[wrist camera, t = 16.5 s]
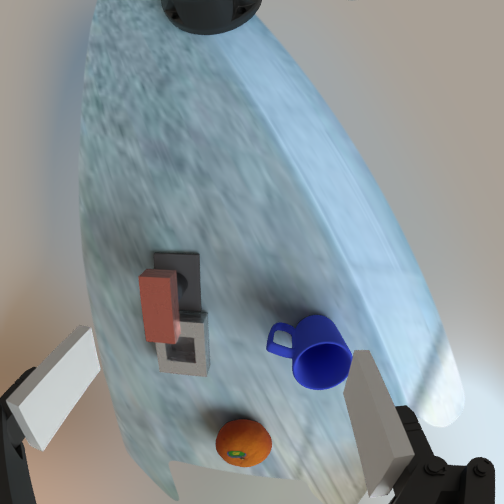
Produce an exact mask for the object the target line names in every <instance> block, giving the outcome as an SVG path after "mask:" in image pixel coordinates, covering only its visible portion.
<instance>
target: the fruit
mask: <svg viewBox="0 0 504 504" xmlns="http://www.w3.org/2000/svg"><path fill="white" fill-rule="evenodd" d="M271 448H272V440H271V437H270V435H269V433H268V432H267V431H266V429H265V428H264V427H263V426H262V425H261V424H260V423H258V422H256V421H252V420H246V419H239V420H234V421H230V422H228V423H226V424H225V425H224V426H223V427H222V428H221V429H220V431H219V433H218V435H217V438H216V450H217V452H218V454H219V455H220V456H221V457H222V458H223V459H224V460H225V461H226V462H227V463H229V464H232V465H235V466H240V467H251V466H254V465H257V464H259V463H261V462H262V461H263V460H265V459H266V458H267V456H268V455H269V453H270V451H271Z"/></svg>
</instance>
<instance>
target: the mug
mask: <svg viewBox="0 0 504 504" xmlns="http://www.w3.org/2000/svg"><path fill="white" fill-rule="evenodd" d="M277 330H281V331H285V332H287V333H289V334H291V336H292V348H288V347H285V346H282V345H279V344H276V343H274V342H273V337H274V332H275V331H277ZM266 349H267V351H268V352H271V353H273V354H276V355H279V356H282V357H286V358H291V359H292V371H293V375H294V377H295V379H296V380H297V382H298V383H300V384H301V385H302V386H304V387H306V388H309V389H313V390H324V389H329V388H332V387H334V386H336V385H338V384H340V383H341V382H342V381H344V380H345V379H346V378H347V376H348V374H349V370H350V366H351V362H352V358H353V357H352V354H351V352H350V350H349V348H348V346H347V345H346V343H345V341H344V339H343V338H342V336H341V334H340V332H339V331H338V329H337V327H336V326H335V324H334V323H333V322H332V321H331V320H330V319H329V318H327V317H325V316H322V315H312V316H308V317H306V318H304V319H303V320H301V321H300V322H299V323H298V325H297V326H296V328H294V327H293V326H291V325H289V324H286V323H282V322H279V323H276V324H274V325H273V327H272V328H271V330H270V333H269V336H268V340H267V346H266Z"/></svg>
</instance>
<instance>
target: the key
mask: <svg viewBox="0 0 504 504" xmlns="http://www.w3.org/2000/svg"><path fill="white" fill-rule="evenodd" d="M139 287H140V296H141V305H142V313H143V321H144V328H145V335H146V341H148V342H157V343H167V344H176V342H177V340H178V338H179V336H180V334H181V330H180V318H179V305H178V303H179V301H180V299H181V298H182V296H183V295H184V293H185V291H186V290H187V287H188V281H187V279H186V278H185V276H183V275H182V274H180V273H176V270H161V269H146V270H145V271H144V272H143V273H142V274H141V275H140V276H139Z"/></svg>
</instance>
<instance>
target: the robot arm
mask: <svg viewBox="0 0 504 504" xmlns="http://www.w3.org/2000/svg"><path fill="white" fill-rule="evenodd" d="M161 2H162V7H163V10H164V12H165V14H166V15H167V17H168V18H169V19H170V21H171V22H172V23H173V24H174V25H175V26H176V27H178V28H179V29H181V30H183V31H186V32H188V33H192V34H198V35H213V34H220V33H224V32H227V31H230V30H233V29H235V28H237V27H239V26H241V25H243V24H244V23H245V22H247V21H248V20H249V19H250V18H252V16H253V15H254V14H255V13H256V11H257V10H258V9H259V7H260V5H261V2H262V0H161ZM99 371H100V365H99V361H98V357H97V353H96V348H95V344H94V339H93V334H92V329H91V327H87V326H82V325H79V326H78V327H77V328H76V329H75V330H74V331H73V332H72V333H71V334H70V335H69V336H68V337H67V338H66V339H65V340H64V341H63V342H62V343H61V344H59V346H57V348H55V350H53V351H52V353H51V354H50V355H49V356H48V357H47V358H46V359H45V360H44V361H43V362H42V363H41V364H40V365H39V366H38V367H37V368H36V367H32V368H31V369H29V370H27V371H25V372H24V373H23V374H22V375H21V376H20V378H19V379H17V380H16V381H15V384H13V385H12V386H11V387H10V388H9V389H8V390H7V391H6V392H5V393H4V394H3V395H2V396H1V398H0V504H36V500H35V496H34V493H33V488H32V484H31V480H30V475H29V470H28V465H27V460H26V454H25V448H24V445H23V443H22V441H23V439H24V438H26V440H27V441H28V443H29V444H30V446H32V447H34V448H36V449H38V450H40V451H44V449H45V448H46V446H47V445H48V443H49V442H50V440H51V439H52V437H53V436H54V434H55V433H56V431H57V430H58V429H59V427H60V426H61V424H62V423H63V421H64V420H65V418H66V417H67V415H68V414H69V413H70V411H71V410H72V408H73V407H74V406H75V404H76V403H77V401H78V400H79V399H80V397H81V396H82V394H83V393H84V392H85V390H86V389H87V387H88V386H89V385H90V383H91V382H92V380H93V379H94V378H95V376H96V375H97V373H98V372H99ZM343 394H344V398H345V402H346V405H347V409H348V413H349V417H350V420H351V424H352V428H353V432H354V436H355V440H356V444H357V448H358V452H359V456H360V460H361V464H362V468H363V473H364V477H365V481H366V486H367V490H368V494H369V498H372V497H378V496H384V495H388V493H389V492H390V491H391V490H392V488H393V489H394V493H395V496H394V497H393V499H392V500H391V501H390V503H389V504H495V469H494V465H493V464H492V463H491V461H489V460H488V459H486V458H482V457H477V458H474V459H472V460H471V461H470V462H469V463H468V464H467V466H458V465H457V466H456V465H454V466H453V465H448V464H447V463H446V462H445V460H443V459H442V458H440V457H438V456H434V454H433V452H432V450H431V447H430V445H429V443H428V441H427V439H426V436H425V434H424V432H423V430H422V428H421V426H420V424H419V423H418V419H417V417H416V415H415V413H414V412H413V411H412V410H411V409H410V408H409V407H408V406H407V405H405V406H396V407H395V406H394V404H393V401H392V399H391V397H390V394H389V392H388V390H387V388H386V385H385V383H384V381H383V379H382V377H381V374H380V372H379V370H378V368H377V366H376V364H375V361H374V359H373V357H372V355H371V353H370V351H369V350H354V354H353V358H352V362H351V366H350V370H349V374H348V378H347V381H346V385H345V389H344V392H343Z"/></svg>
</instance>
